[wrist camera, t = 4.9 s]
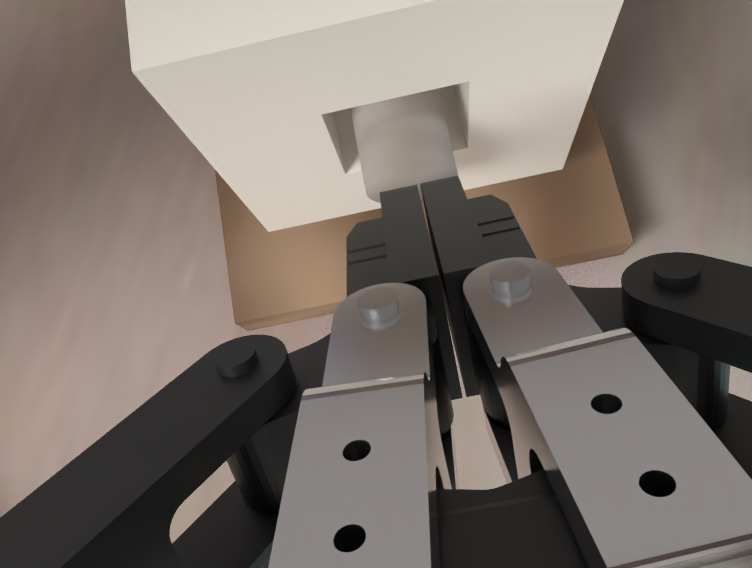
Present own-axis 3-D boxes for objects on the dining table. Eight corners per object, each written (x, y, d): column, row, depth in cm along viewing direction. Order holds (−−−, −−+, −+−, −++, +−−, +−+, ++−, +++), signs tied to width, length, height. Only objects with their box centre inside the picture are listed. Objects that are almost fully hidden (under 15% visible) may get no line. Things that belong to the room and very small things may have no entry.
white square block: (268, 231, 23) (131, 71, 13) (256, 152, 24) (119, -54, 14) (562, 169, 22) (641, -48, 13) (540, 89, 23) (599, -172, 14)
